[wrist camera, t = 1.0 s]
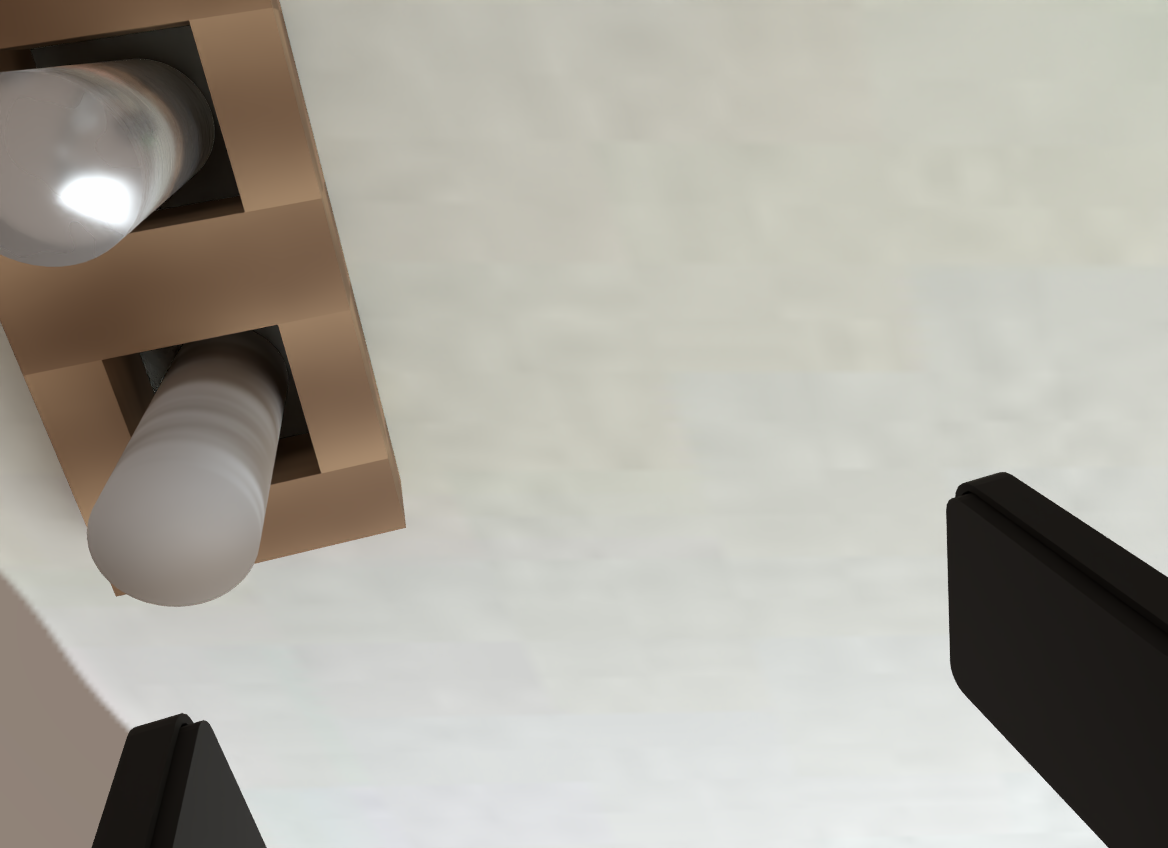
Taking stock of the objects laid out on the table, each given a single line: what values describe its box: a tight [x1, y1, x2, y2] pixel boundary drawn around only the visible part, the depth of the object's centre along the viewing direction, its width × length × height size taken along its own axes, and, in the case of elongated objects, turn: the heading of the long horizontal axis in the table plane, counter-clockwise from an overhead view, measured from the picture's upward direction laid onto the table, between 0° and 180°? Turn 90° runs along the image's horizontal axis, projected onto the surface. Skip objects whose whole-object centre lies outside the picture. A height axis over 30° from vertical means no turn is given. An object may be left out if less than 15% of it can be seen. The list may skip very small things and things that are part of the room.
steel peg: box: [0, 59, 215, 267], centre depth 25 cm, size 4×4×12 cm
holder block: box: [0, 0, 406, 607], centre depth 27 cm, size 20×10×12 cm, turn 9°
